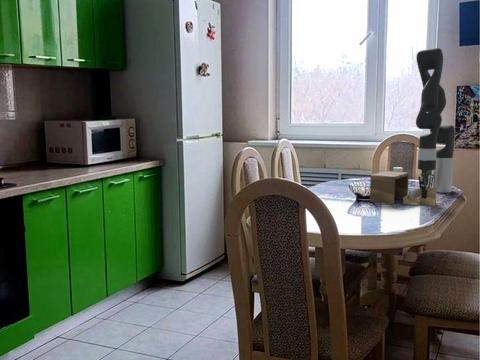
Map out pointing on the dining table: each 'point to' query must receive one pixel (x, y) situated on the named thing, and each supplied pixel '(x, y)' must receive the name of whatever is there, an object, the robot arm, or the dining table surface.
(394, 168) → the supplement bottle
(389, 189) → the brown cardboard box
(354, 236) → the dining table surface
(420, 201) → the tray
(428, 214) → the dining table surface
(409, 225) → the dining table surface
